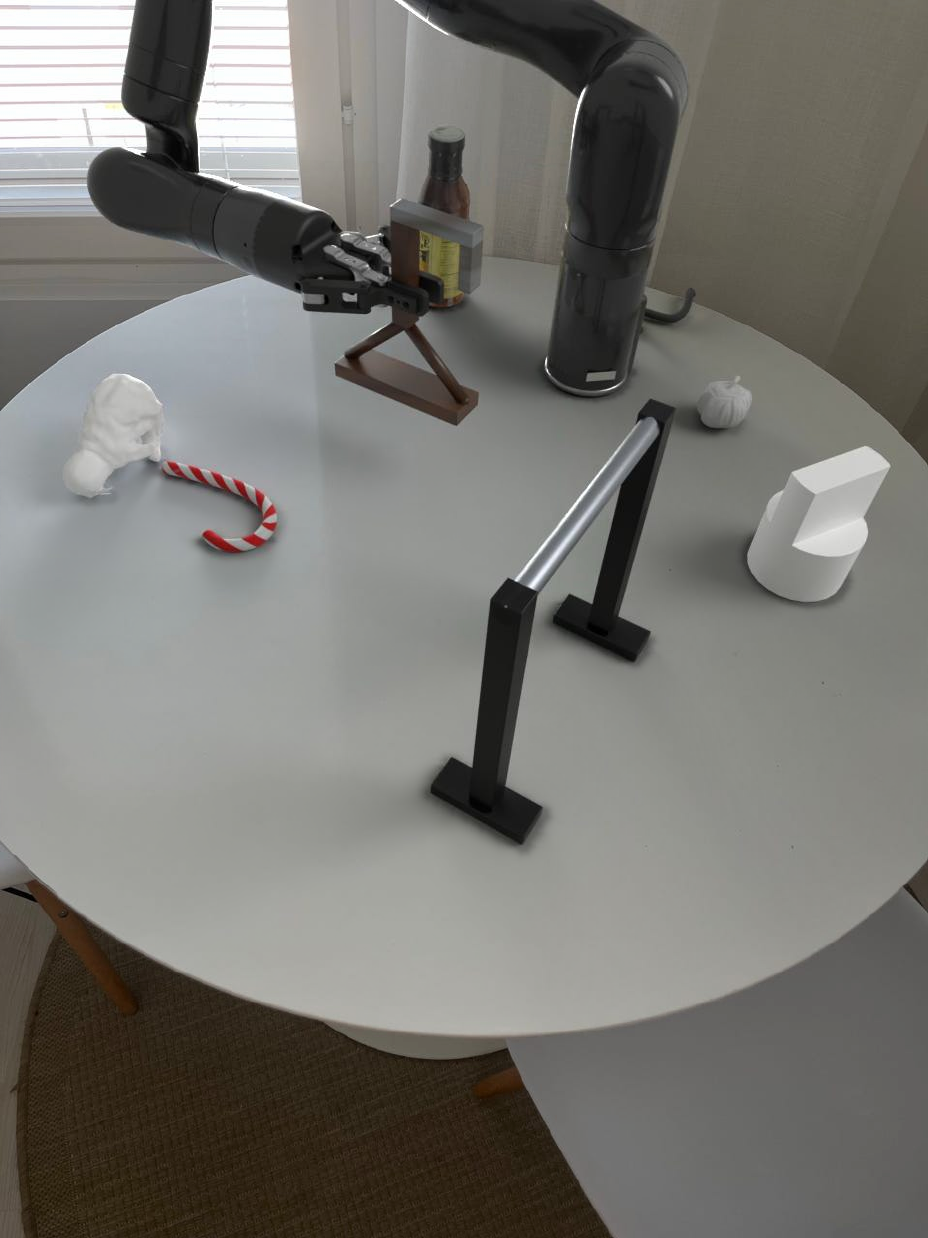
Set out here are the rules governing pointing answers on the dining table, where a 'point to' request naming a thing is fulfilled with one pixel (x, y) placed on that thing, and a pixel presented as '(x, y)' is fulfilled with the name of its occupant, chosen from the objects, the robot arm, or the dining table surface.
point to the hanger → (393, 375)
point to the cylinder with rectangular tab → (816, 526)
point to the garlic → (724, 404)
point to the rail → (556, 622)
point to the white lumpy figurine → (114, 433)
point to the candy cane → (237, 488)
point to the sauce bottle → (444, 207)
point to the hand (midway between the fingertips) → (433, 298)
